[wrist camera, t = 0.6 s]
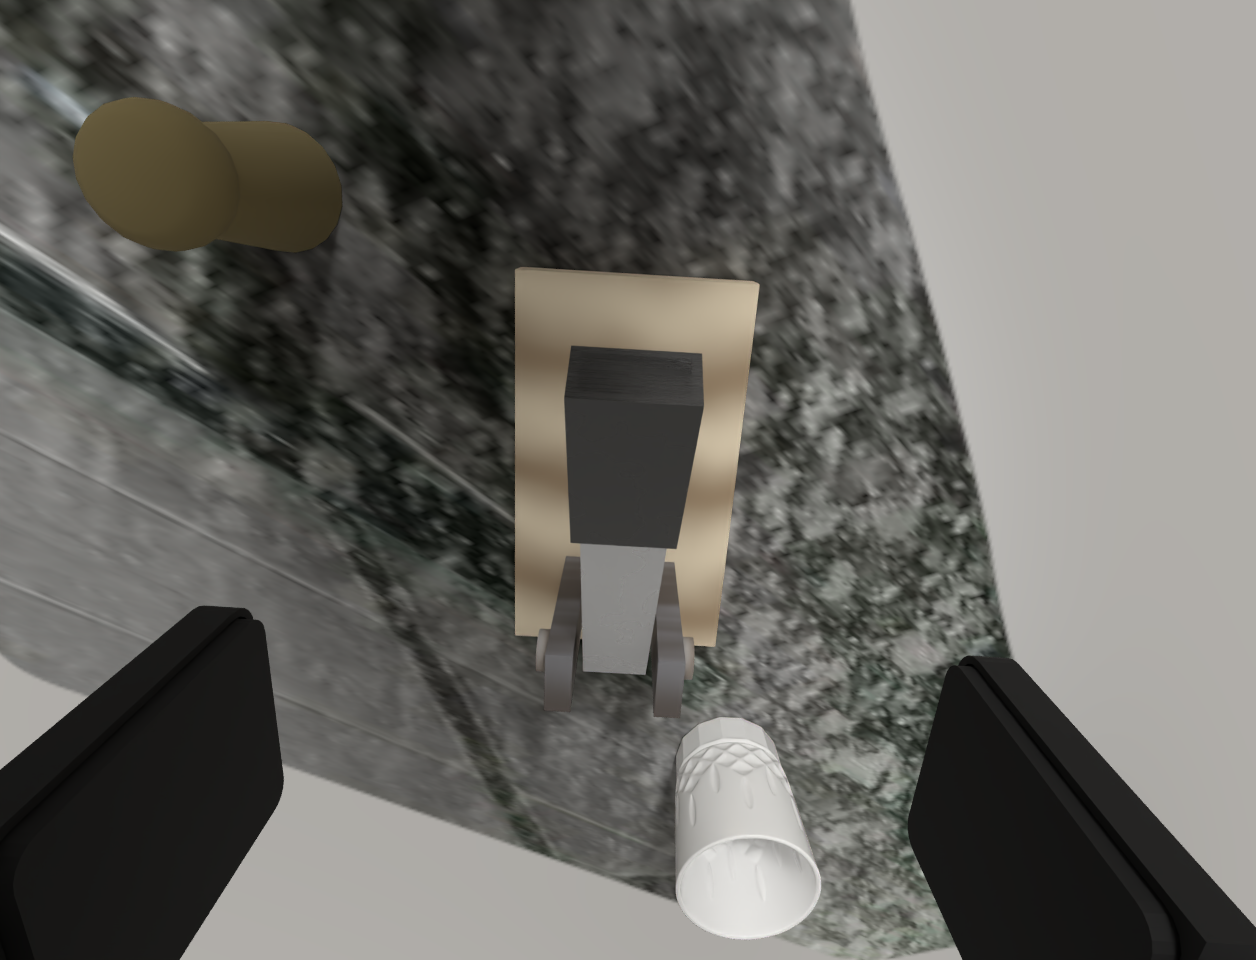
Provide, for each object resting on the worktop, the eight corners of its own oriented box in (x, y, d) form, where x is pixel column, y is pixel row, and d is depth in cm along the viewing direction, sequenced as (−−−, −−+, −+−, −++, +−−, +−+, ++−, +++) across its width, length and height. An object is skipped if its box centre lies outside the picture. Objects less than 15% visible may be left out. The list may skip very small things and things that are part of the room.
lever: (577, 299, 20) (563, 398, 17) (700, 306, 20) (703, 406, 17) (583, 600, 35) (576, 675, 33) (653, 604, 35) (651, 680, 33)
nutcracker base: (521, 266, 35) (470, 285, 24) (753, 281, 35) (804, 306, 24) (520, 617, 43) (481, 750, 32) (711, 628, 43) (736, 764, 32)
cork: (353, 249, 35) (234, 260, 25) (237, 256, 35) (72, 269, 25) (328, 117, 33) (187, 69, 22) (205, 125, 33) (10, 80, 23)
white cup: (647, 773, 47) (649, 910, 38) (705, 690, 44) (723, 815, 35) (744, 815, 48) (771, 958, 39) (806, 736, 46) (850, 869, 36)
